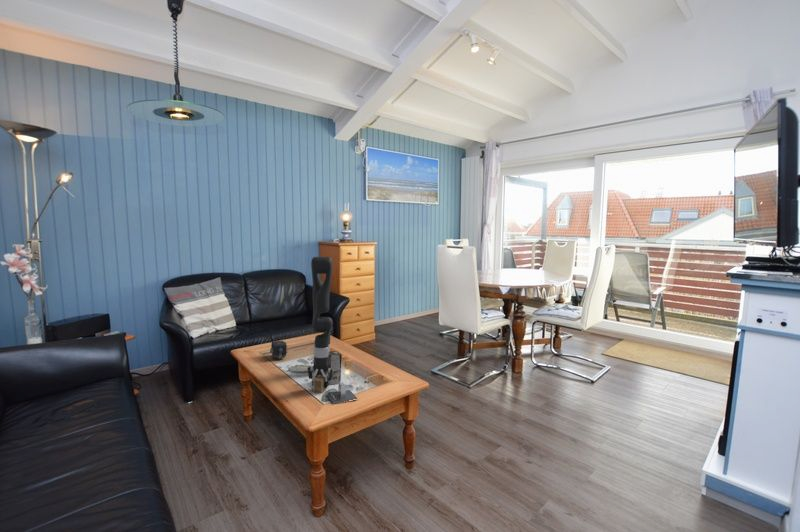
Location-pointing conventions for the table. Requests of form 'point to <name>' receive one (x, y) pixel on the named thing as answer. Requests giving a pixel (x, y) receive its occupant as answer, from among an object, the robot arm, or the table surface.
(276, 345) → the camera
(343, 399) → the stub plate
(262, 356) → the table surface
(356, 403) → the table surface
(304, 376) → the table surface
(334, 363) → the coffee box
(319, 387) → the brown block
